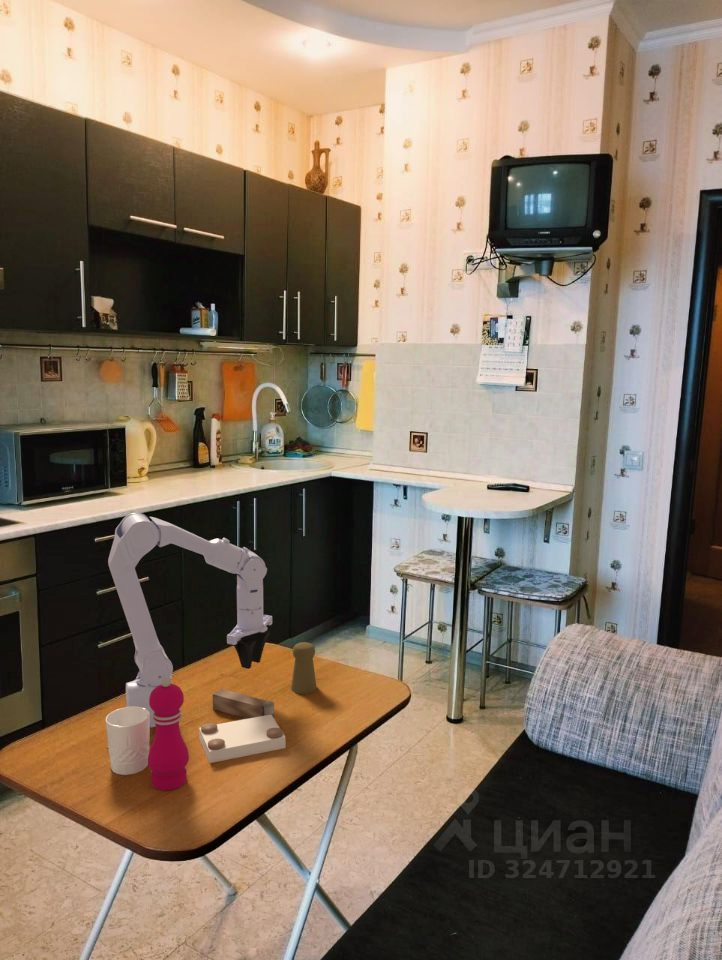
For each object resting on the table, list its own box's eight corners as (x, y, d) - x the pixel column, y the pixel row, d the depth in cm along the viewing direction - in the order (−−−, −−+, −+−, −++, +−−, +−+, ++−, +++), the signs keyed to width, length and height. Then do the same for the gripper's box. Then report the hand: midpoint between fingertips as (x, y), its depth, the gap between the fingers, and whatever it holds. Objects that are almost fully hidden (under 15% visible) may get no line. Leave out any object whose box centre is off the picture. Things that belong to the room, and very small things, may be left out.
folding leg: (277, 718, 159) (277, 702, 158) (269, 724, 156) (269, 707, 155) (221, 703, 165) (221, 687, 165) (212, 709, 163) (212, 692, 162)
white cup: (156, 770, 139) (154, 720, 137) (112, 781, 135) (110, 730, 133) (145, 750, 146) (144, 702, 144) (104, 761, 142) (101, 712, 140)
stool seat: (209, 763, 141) (209, 748, 141) (199, 739, 150) (199, 724, 150) (285, 748, 147) (285, 734, 146) (271, 725, 156) (271, 711, 156)
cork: (315, 695, 170) (315, 649, 169) (289, 694, 171) (289, 649, 169) (317, 683, 176) (318, 639, 175) (292, 683, 176) (292, 639, 175)
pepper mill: (196, 773, 138) (194, 671, 135) (176, 795, 131) (173, 688, 128) (161, 767, 140) (158, 666, 136) (140, 788, 133) (136, 683, 130)
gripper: (245, 619, 156) (246, 680, 158) (283, 599, 169) (283, 656, 171) (218, 613, 159) (219, 673, 161) (257, 594, 172) (258, 650, 174)
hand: (250, 664), depth 166 cm, fingers open, 3 cm apart
